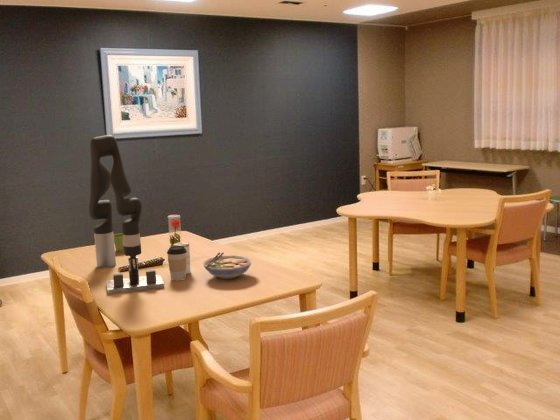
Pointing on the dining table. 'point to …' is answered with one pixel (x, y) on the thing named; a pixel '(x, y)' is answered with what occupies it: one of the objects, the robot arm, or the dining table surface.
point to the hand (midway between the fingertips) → (134, 281)
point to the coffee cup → (177, 262)
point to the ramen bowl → (227, 265)
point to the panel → (134, 285)
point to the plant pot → (118, 242)
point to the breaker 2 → (150, 276)
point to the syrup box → (186, 246)
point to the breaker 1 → (118, 279)
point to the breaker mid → (131, 275)
